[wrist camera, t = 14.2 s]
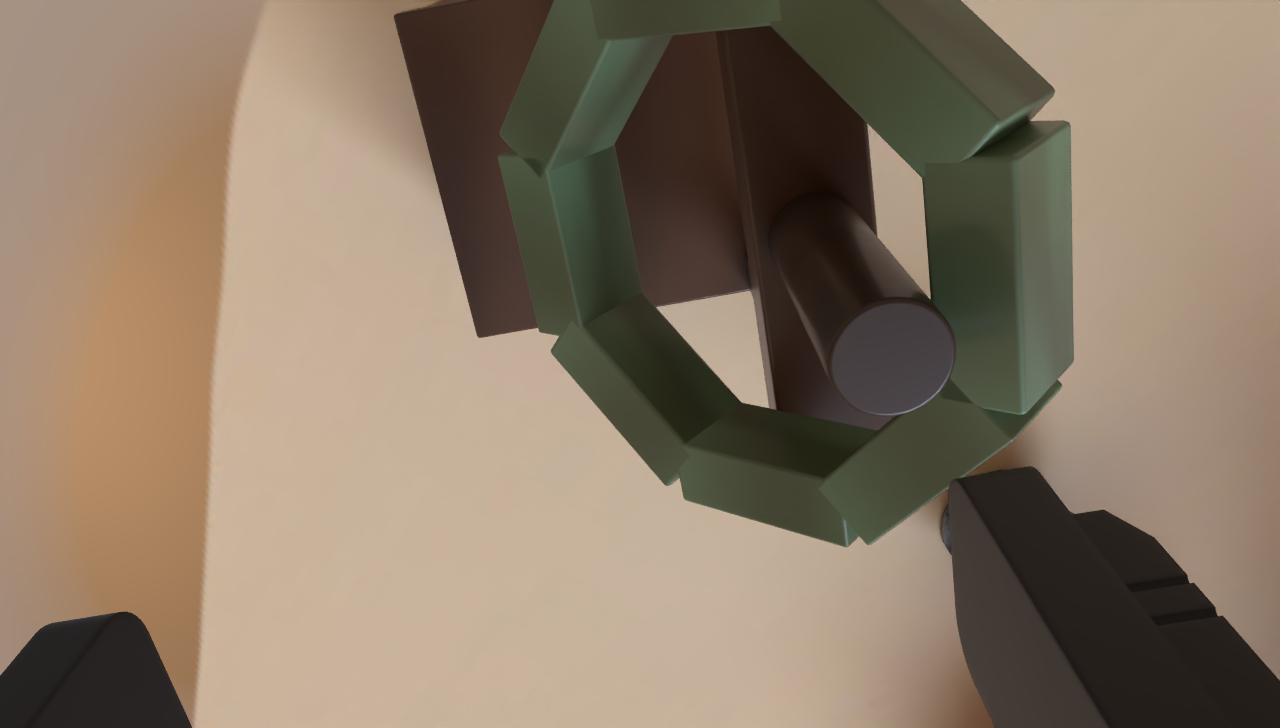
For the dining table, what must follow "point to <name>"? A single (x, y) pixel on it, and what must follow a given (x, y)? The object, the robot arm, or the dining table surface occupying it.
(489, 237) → the chair
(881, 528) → the ring
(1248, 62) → the dining table surface
